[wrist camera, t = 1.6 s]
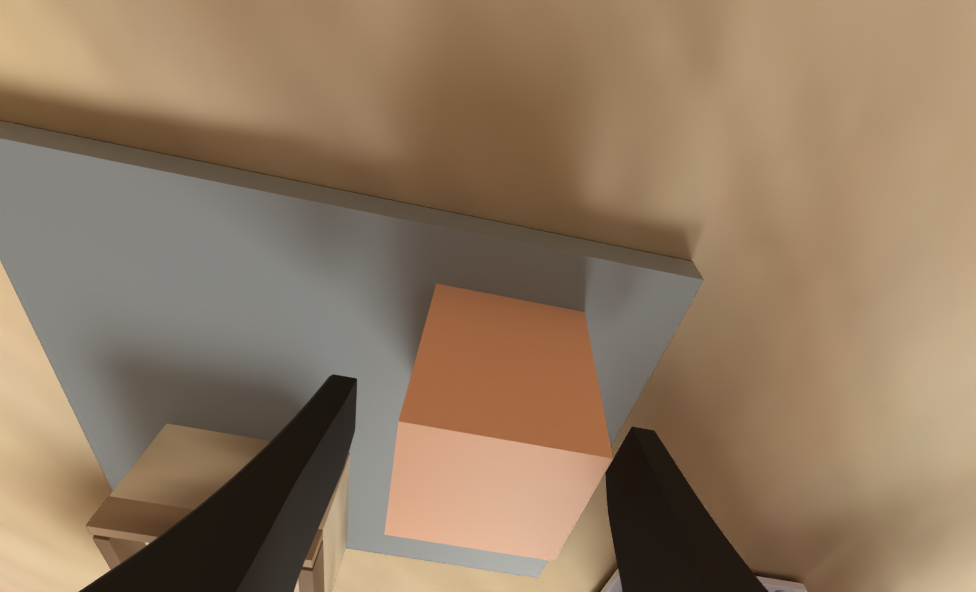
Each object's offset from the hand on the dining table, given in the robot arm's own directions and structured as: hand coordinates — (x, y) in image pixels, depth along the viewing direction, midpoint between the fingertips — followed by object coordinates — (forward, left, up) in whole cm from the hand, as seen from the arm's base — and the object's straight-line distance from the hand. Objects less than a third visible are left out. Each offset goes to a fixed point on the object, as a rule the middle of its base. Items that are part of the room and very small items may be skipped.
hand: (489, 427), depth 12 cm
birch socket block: (+8, +10, -3) cm, 13 cm away
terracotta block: (0, 0, -3) cm, 3 cm away
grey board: (+5, +5, -4) cm, 8 cm away
